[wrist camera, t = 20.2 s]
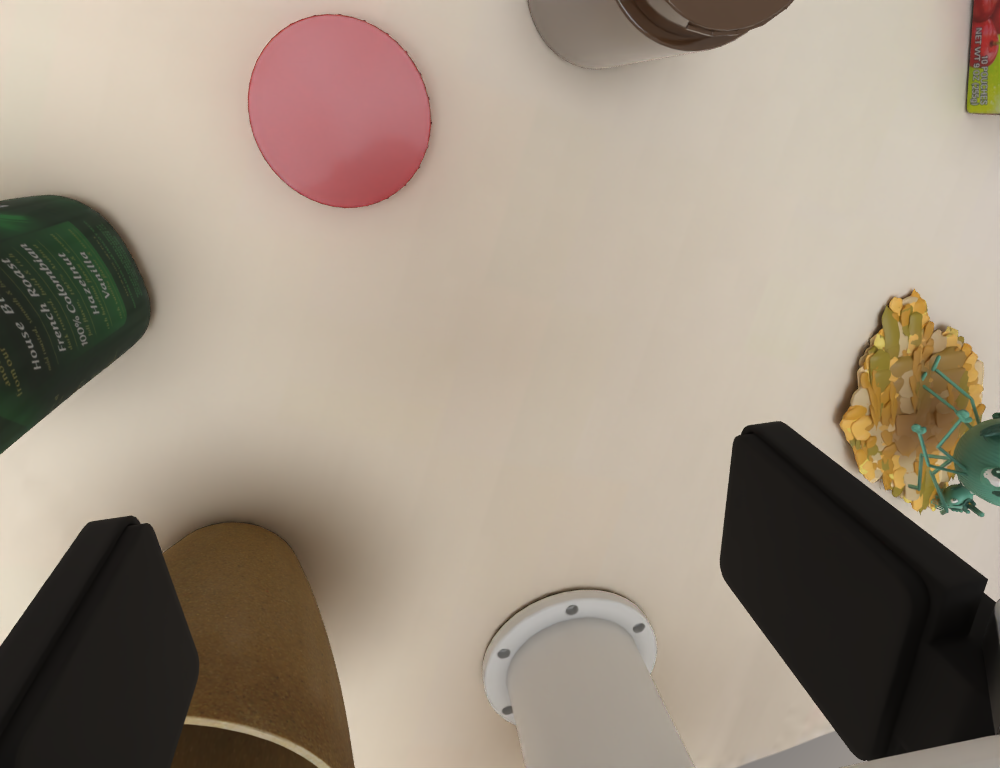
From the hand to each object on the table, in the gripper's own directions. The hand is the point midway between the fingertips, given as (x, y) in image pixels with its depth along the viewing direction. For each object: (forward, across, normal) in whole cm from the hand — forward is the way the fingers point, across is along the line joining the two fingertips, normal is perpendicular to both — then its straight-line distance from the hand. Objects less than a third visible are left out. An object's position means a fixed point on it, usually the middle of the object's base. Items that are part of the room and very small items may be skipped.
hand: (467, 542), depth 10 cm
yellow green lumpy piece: (+24, -31, +14) cm, 41 cm away
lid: (+21, +2, -6) cm, 22 cm away
